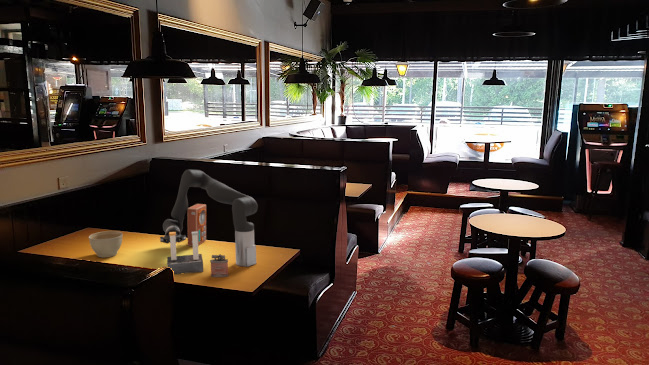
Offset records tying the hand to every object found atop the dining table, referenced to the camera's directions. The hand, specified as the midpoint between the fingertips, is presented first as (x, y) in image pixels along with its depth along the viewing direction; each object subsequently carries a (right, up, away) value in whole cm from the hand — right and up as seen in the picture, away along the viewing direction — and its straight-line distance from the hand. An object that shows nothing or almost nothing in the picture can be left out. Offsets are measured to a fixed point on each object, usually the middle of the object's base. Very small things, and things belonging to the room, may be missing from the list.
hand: (173, 242), depth 235 cm
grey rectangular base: (+7, -12, -5) cm, 15 cm away
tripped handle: (+3, -7, -7) cm, 10 cm away
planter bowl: (-40, -9, +17) cm, 44 cm away
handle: (+13, -7, -7) cm, 16 cm away
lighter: (+26, -14, -14) cm, 32 cm away
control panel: (+1, -5, +38) cm, 38 cm away
